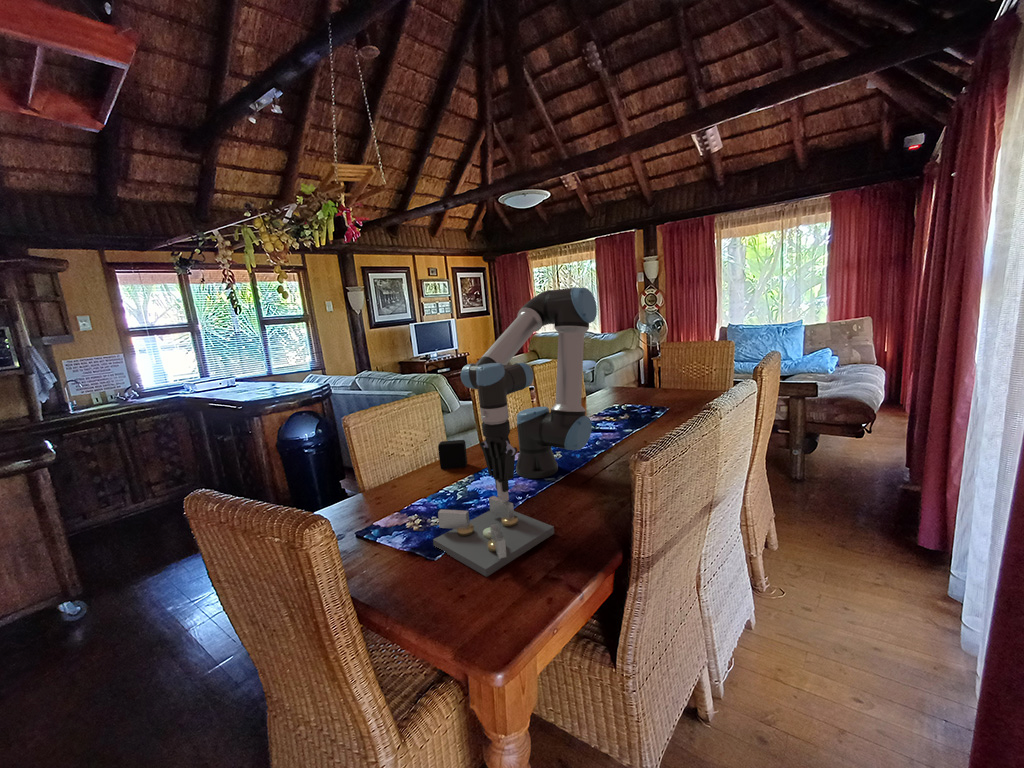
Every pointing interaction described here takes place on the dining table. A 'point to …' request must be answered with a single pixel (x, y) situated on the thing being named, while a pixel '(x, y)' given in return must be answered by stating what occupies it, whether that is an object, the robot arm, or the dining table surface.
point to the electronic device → (452, 454)
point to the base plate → (475, 545)
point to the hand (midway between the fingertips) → (503, 500)
